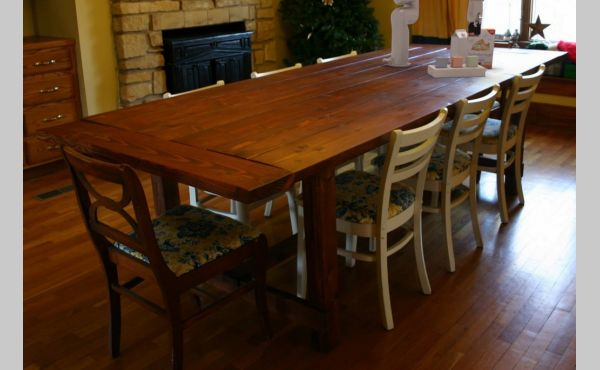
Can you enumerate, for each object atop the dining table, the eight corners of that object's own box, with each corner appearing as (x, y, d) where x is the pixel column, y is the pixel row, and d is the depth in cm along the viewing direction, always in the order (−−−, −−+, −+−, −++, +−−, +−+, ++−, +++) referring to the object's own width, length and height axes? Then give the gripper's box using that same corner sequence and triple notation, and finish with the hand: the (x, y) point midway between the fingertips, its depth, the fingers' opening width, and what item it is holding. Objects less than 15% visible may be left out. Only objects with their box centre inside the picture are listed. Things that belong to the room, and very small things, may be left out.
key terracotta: (453, 67, 317) (453, 57, 316) (450, 66, 322) (451, 56, 320) (462, 67, 318) (463, 57, 316) (459, 65, 322) (460, 56, 320)
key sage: (468, 67, 318) (469, 57, 316) (465, 65, 322) (466, 55, 321) (477, 66, 318) (478, 57, 316) (474, 65, 323) (475, 55, 321)
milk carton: (449, 63, 355) (451, 29, 349) (459, 62, 358) (461, 28, 352) (457, 65, 349) (459, 30, 343) (467, 64, 352) (470, 29, 346)
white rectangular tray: (434, 77, 314) (435, 69, 312) (427, 73, 327) (427, 65, 326) (485, 76, 315) (485, 68, 314) (476, 71, 328) (476, 63, 327)
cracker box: (465, 68, 337) (468, 29, 330) (464, 67, 343) (467, 28, 336) (492, 68, 335) (495, 29, 328) (490, 67, 341) (494, 27, 334)
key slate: (437, 68, 317) (438, 58, 315) (435, 66, 321) (435, 56, 320) (447, 67, 317) (447, 57, 315) (444, 66, 322) (444, 56, 320)
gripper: (463, -3, 317) (461, 32, 323) (475, -1, 300) (472, 35, 306) (478, -3, 317) (475, 31, 323) (490, -1, 301) (487, 35, 307)
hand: (474, 33), depth 315 cm, fingers open, 8 cm apart
